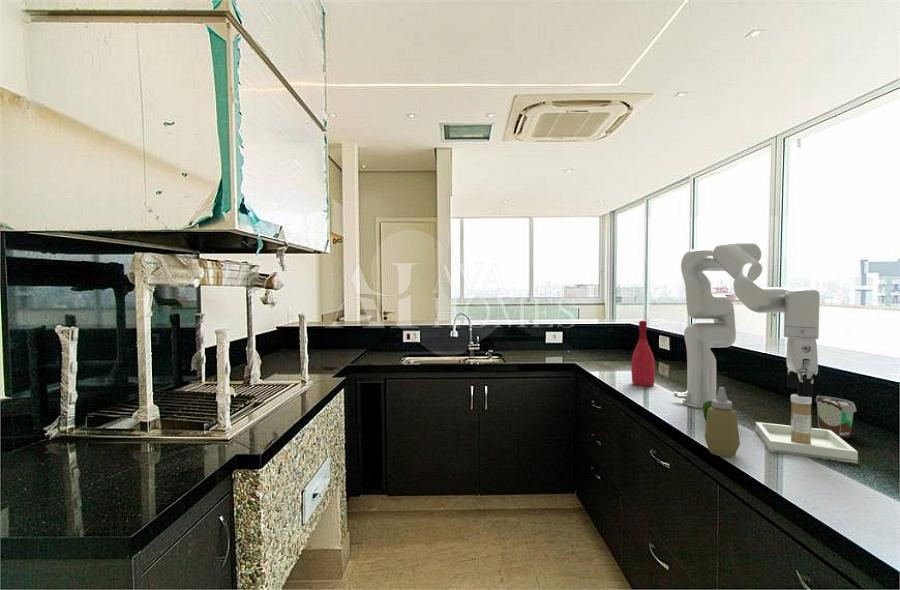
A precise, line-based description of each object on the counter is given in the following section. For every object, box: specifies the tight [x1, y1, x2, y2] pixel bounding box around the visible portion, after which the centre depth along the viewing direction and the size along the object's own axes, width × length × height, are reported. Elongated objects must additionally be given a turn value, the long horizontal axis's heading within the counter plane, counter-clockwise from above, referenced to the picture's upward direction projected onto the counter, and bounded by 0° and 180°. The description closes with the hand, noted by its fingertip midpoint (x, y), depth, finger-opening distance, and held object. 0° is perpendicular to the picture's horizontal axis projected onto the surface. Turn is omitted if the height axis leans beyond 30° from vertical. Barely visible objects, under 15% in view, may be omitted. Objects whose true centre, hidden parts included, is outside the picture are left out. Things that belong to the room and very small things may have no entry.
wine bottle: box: [631, 320, 656, 387], centre depth 194 cm, size 10×10×30 cm
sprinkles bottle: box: [790, 393, 813, 444], centre depth 117 cm, size 5×5×14 cm
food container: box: [815, 395, 858, 439], centre depth 127 cm, size 12×6×10 cm, turn 168°
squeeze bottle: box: [704, 386, 741, 458], centre depth 112 cm, size 8×8×18 cm
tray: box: [754, 421, 859, 464], centre depth 117 cm, size 18×18×3 cm
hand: (799, 392), depth 117 cm, fingers open, 9 cm apart
